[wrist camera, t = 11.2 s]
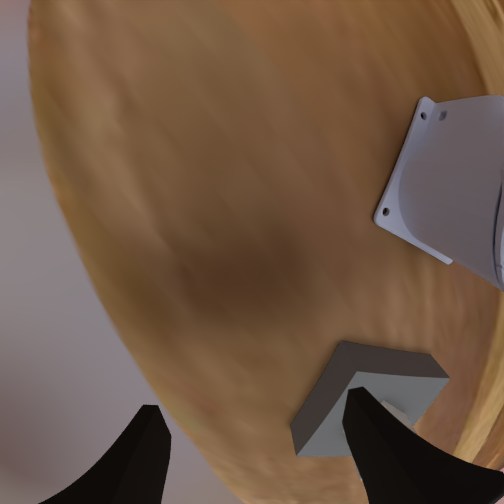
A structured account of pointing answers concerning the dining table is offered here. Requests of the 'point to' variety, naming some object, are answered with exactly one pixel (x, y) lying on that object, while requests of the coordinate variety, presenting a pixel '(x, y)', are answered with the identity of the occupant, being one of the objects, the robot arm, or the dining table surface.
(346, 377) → the base block
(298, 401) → the dining table surface
